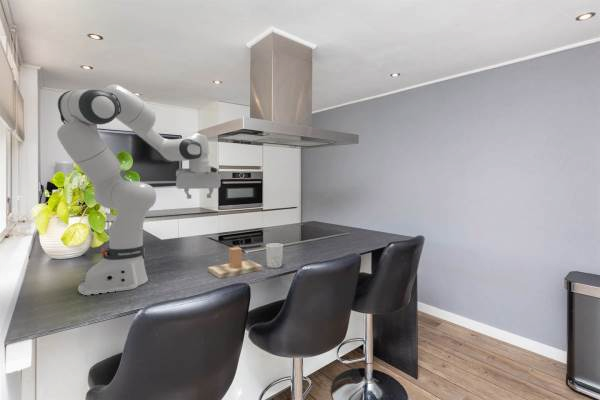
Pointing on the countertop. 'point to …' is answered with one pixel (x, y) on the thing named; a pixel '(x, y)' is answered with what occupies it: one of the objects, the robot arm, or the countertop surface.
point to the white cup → (274, 255)
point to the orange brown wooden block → (235, 257)
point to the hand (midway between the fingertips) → (199, 198)
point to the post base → (234, 269)
